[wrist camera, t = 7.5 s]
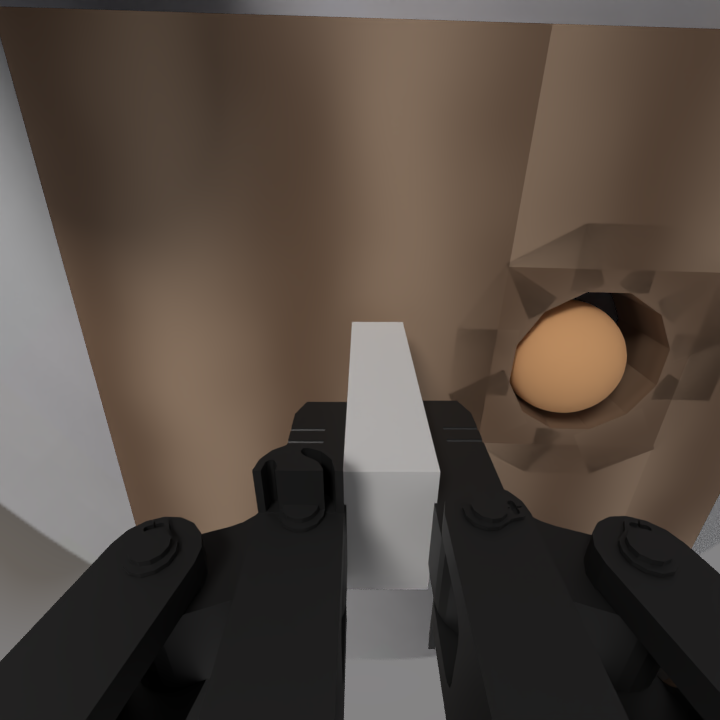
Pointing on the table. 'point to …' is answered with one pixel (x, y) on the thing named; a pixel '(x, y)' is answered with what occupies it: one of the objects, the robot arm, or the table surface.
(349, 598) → the table surface
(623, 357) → the ball
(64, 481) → the table surface
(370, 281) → the wooden board
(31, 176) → the table surface
